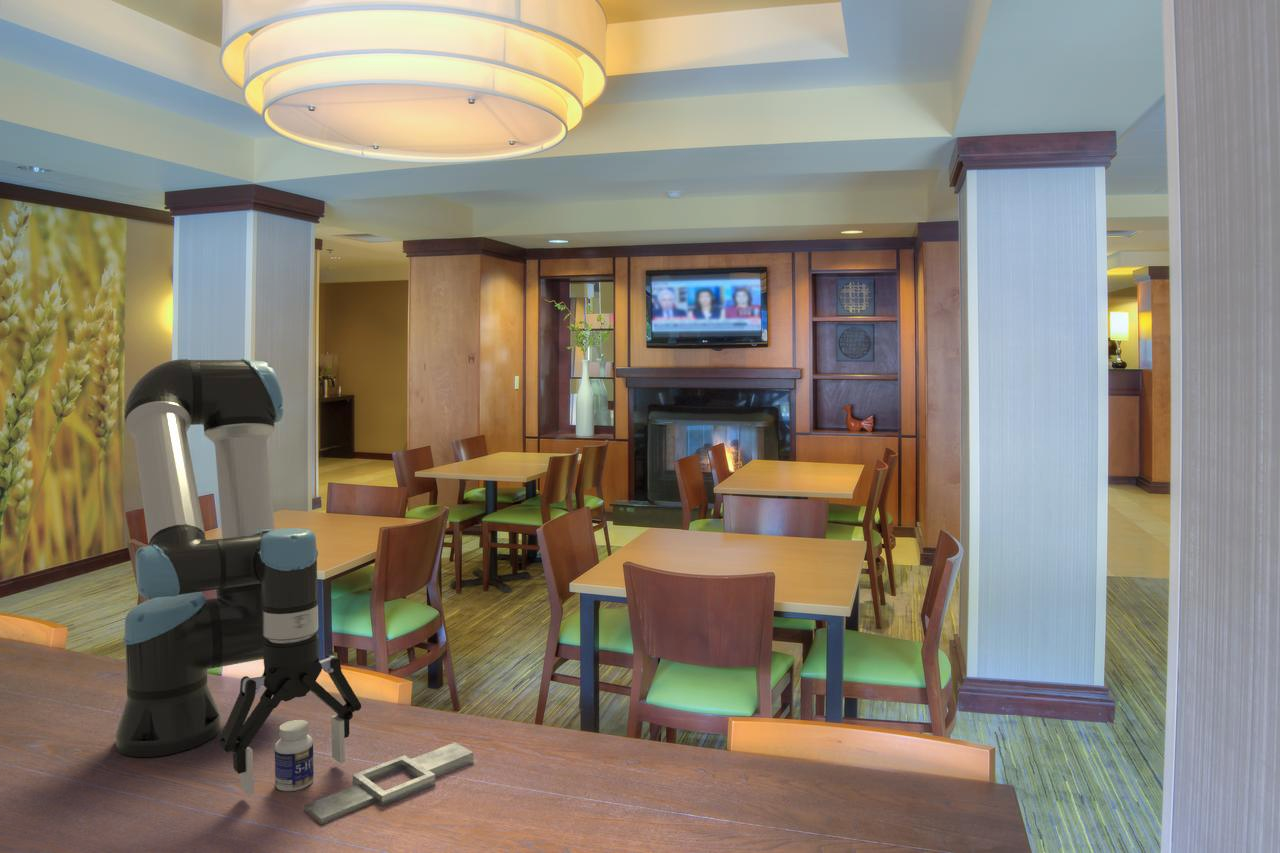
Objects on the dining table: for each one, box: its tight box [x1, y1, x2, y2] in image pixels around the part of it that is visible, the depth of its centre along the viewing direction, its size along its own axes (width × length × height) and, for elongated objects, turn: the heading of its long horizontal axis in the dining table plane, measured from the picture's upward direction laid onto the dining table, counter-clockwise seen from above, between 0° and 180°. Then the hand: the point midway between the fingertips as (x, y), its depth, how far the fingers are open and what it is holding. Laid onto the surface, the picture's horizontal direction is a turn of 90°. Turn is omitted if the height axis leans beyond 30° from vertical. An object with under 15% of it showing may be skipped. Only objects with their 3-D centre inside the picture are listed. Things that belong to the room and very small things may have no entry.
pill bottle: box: [274, 719, 315, 792], centre depth 122 cm, size 5×5×9 cm
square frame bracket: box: [304, 741, 474, 825], centre depth 122 cm, size 25×9×2 cm, turn 136°
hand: (294, 775), depth 122 cm, fingers open, 13 cm apart
